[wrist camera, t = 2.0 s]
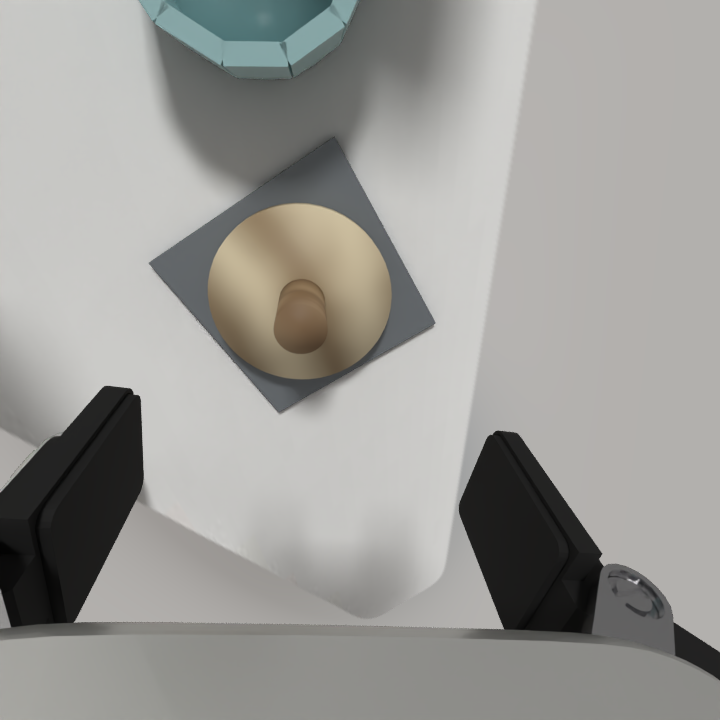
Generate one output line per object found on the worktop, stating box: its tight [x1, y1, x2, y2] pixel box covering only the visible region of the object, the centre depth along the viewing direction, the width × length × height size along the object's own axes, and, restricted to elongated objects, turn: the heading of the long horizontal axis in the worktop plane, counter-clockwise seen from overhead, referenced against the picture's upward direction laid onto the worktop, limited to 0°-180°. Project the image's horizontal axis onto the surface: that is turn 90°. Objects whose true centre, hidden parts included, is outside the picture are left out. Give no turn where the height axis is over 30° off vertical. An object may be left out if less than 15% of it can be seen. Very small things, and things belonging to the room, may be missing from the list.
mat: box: [149, 137, 435, 412], centre depth 28 cm, size 14×14×1 cm
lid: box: [208, 203, 392, 379], centre depth 26 cm, size 12×12×6 cm
